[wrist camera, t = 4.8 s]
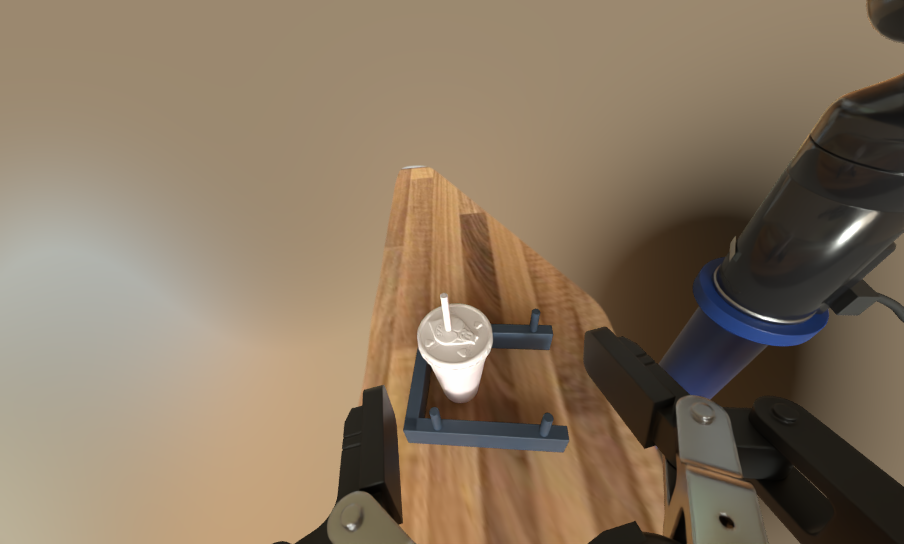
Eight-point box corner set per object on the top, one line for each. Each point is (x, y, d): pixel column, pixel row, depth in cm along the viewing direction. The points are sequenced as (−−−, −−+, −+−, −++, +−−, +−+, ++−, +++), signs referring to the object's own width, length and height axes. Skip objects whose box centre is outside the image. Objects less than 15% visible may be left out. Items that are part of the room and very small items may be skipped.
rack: (548, 340, 38) (555, 307, 34) (563, 452, 30) (576, 426, 26) (425, 337, 40) (418, 304, 35) (408, 442, 31) (396, 416, 27)
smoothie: (447, 350, 38) (433, 259, 28) (501, 371, 36) (506, 281, 26) (418, 400, 34) (391, 315, 24) (476, 428, 32) (472, 347, 22)
